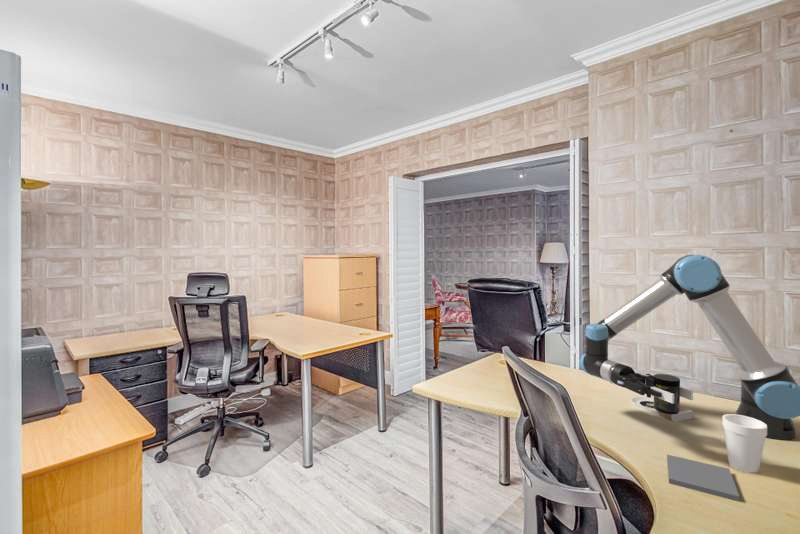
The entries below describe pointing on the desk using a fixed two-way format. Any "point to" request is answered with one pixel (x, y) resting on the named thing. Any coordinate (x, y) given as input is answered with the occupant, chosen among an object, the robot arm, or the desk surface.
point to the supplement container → (669, 385)
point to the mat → (701, 477)
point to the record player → (649, 406)
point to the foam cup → (744, 441)
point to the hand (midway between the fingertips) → (682, 397)
